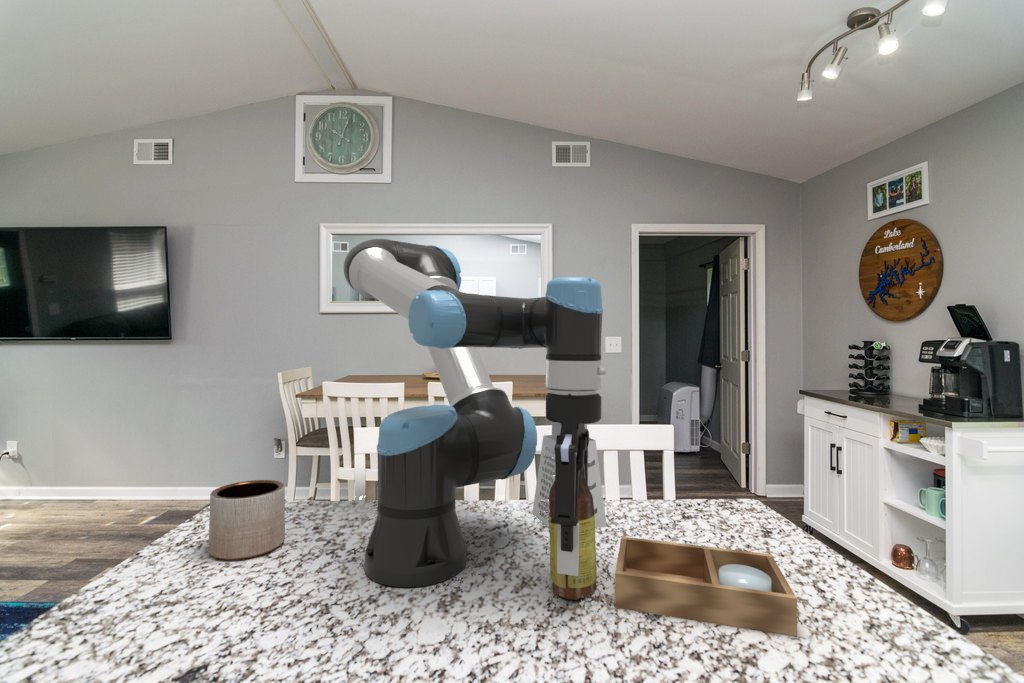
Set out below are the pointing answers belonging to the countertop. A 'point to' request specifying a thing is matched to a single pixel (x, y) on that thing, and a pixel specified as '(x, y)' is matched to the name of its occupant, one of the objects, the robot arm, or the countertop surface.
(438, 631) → the countertop surface
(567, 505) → the robot arm
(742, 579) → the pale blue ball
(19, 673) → the countertop surface
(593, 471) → the grater
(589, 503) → the sauce bottle
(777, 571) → the caddy
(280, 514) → the planter
